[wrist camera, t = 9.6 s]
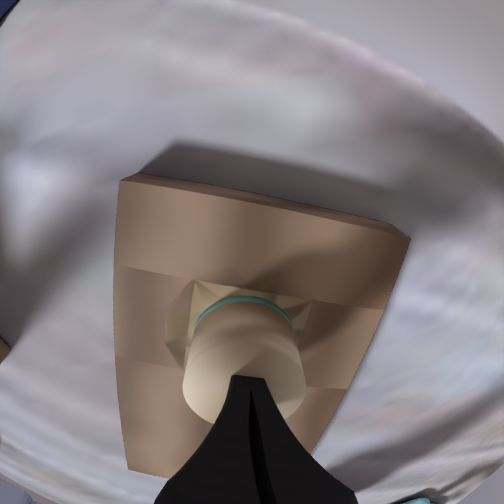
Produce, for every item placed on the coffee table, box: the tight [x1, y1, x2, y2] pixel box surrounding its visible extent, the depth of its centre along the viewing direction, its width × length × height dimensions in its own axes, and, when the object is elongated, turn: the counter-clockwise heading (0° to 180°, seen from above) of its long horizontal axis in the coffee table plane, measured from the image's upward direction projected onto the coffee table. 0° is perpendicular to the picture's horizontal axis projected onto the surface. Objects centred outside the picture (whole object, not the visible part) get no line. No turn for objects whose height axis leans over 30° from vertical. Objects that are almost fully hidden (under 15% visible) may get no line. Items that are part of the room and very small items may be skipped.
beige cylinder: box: [183, 295, 306, 424], centre depth 16 cm, size 5×5×6 cm
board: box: [113, 173, 411, 479], centre depth 19 cm, size 14×24×2 cm, turn 168°
